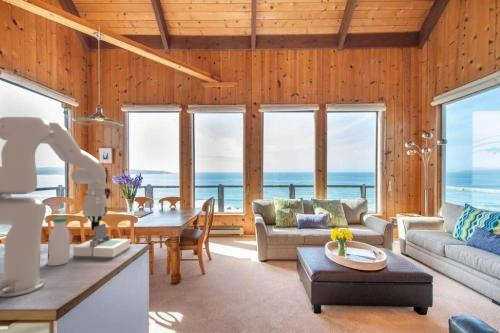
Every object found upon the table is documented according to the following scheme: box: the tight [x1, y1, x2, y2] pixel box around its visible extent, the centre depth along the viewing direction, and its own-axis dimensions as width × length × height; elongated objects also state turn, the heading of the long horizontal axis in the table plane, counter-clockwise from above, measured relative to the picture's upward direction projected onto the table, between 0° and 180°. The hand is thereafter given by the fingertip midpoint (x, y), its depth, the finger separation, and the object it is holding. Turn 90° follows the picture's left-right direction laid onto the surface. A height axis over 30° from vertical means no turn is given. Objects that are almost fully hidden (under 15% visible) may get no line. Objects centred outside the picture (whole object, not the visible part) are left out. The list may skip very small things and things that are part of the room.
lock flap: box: [93, 223, 108, 244], centre depth 128 cm, size 9×9×2 cm
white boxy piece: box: [72, 234, 131, 260], centre depth 127 cm, size 16×19×8 cm
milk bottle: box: [47, 216, 71, 267], centre depth 113 cm, size 8×8×20 cm
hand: (95, 229), depth 128 cm, fingers closed
